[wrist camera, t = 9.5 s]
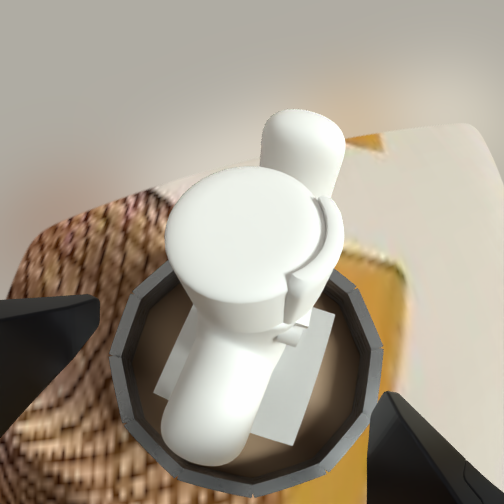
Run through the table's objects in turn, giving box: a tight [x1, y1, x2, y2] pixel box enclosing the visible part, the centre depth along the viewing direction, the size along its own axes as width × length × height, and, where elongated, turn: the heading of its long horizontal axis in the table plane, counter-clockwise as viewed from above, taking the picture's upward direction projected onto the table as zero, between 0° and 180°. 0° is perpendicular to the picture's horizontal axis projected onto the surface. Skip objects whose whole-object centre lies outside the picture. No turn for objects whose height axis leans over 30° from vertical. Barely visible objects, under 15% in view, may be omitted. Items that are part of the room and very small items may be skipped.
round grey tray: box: [109, 260, 384, 498], centre depth 17 cm, size 16×16×2 cm
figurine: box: [153, 109, 345, 466], centre depth 11 cm, size 7×9×15 cm
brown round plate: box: [132, 282, 360, 478], centre depth 18 cm, size 16×16×1 cm
